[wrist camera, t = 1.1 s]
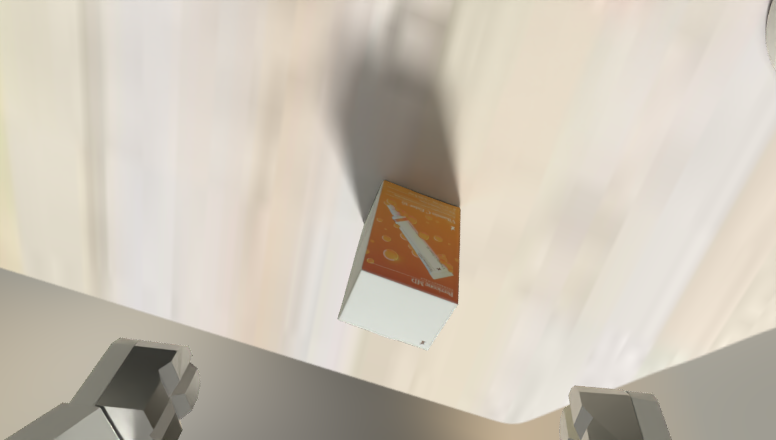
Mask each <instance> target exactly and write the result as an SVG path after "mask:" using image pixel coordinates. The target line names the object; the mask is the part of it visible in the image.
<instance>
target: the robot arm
mask: <svg viewBox="0 0 776 440" xmlns="http://www.w3.org/2000/svg"><path fill="white" fill-rule="evenodd" d="M766 44H767V51H768V55H769V58H770V61H771V63H772V65H773V67H774V69H775V70H776V0H773V1H772V4H771V7H770V10H769V15H768V19H767V26H766ZM192 356H193V355H192V352H191V350H190V348H189V346H184V345H177V344H168V343H159V342H151V341H144V340H137V339H127V338H119V339H117V340H116V341H114V342H113V343H112V344H111V345H110V346H109V348H108V349H107V351H106V352H105V354H104V355H103V356H102V358H101V359H100V361H99V362H98V363H97V365H96V366H95V368H94V369H93V370H92V372H91V373H90V375H89V376H88V377H87V379H86V380H85V382H84V383H83V384H82V386H81V387H80V389H79V390H78V392H77V393H76V395H75V396H74V397H73V399H72V400H71V401H70V403H61V404H60V405H58V406H57V407H55V408H53V409H52V410H50V411H49V412H47V413H46V414H44V415H42V416H41V417H40V418H38V419H36V420H35V421H33V422H31V423H30V424H28V425H27V426H25V427H24V428H22V429H20V430H19V431H17V432H16V433H14V434H13V435H11V436H10V437H8V438H6V439H5V440H178V438H179V436H180V434H181V432H182V425H181V421H180V419H182V418H183V417H184V416H186V415H187V414H188V413H190V412H191V411H192V409H193V407H194V405H195V402H196V401H197V398H198V394H199V389H200V374H199V371H198V369H197V368H196V367H195V366H194V365H193V364H191V363H190V360H191V358H192ZM569 401H570V405H569V406H567V407H565V408H564V409H563V412H562V415H561V420H560V430H559V433H560V440H672V439H671V436H670V433H669V431H668V428H667V425H666V422H665V419H664V416H663V414H662V411H661V408H660V405H659V402H658V400H657V398H656V397H655V396H654V395H653V394H651V393H642V392H631V391H624V390H619V389H608V388H596V387H585V386H574V387H572V388H571V391H570V393H569Z"/></svg>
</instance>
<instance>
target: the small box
mask: <svg viewBox="0 0 776 440" xmlns="http://www.w3.org/2000/svg"><path fill="white" fill-rule="evenodd" d="M460 211H461V210H460V208H459V207H456V206H453V205H450V204H447V203H444V202H441V201H438V200H436V199H433V198H430V197H428V196H425V195H422V194H420V193H417V192H414V191H412V190H409V189H407V188H404V187H401V186H399V185H396V184H394V183H391V182H389V181H386V180H384V181H383V182H382V185H381V187H380V189H379V192H378V194H377V196H376V199H375V201H374V203H373V206H372V208H371V210H370V213H369V215H368V217H367V220H366V222H365V224H364V227H363V230H362V233H361V237H360V240H359V244H358V247H357V251H356V255H355V258H354V262H353V266H352V270H351V273H350V277H349V280H348V284H347V287H346V291H345V295H344V298H343V302H342V306H341V309H340V312H339V315H338V320H339V321H342V322H345V323H348V324H351V325H353V326H356V327H359V328H362V329H365V330H368V331H370V332H373V333H375V334H378V335H380V336H383V337H386V338H389V339H393V340H397V341H401V342H403V343H406V344H409V345H412V346H416V347H419V348H422V349H424V350H429V348H430V347H431V345H432V343H433V342H434V340H435V339H436V337H437V336H438V334H439V333H440V331H441V330H442V328H443V327H444V325H445V323H446V322H447V320H448V319H449V317H450V316H451V314H452V313H453V311H454V310H455V308H456V307H457V305H458V292H459V253H460Z"/></svg>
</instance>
